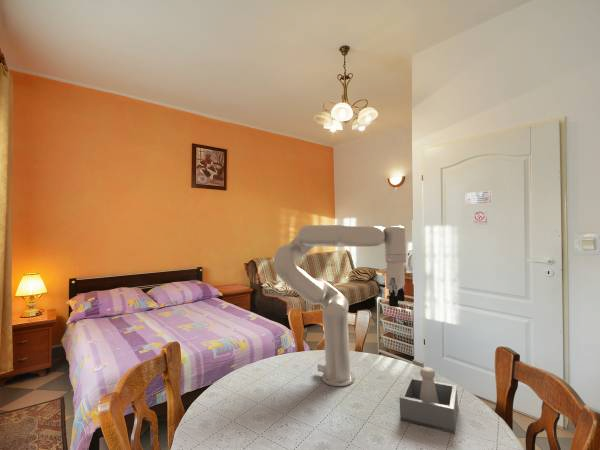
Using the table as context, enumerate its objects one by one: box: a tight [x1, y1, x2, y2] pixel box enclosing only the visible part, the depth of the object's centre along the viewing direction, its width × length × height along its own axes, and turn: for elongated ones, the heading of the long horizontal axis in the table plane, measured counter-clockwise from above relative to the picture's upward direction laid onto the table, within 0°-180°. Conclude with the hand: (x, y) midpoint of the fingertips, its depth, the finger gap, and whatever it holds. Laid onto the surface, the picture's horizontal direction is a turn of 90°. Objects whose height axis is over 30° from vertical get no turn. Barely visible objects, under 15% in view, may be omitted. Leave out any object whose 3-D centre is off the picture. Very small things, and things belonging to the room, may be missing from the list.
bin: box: [399, 376, 459, 435], centre depth 102 cm, size 15×15×7 cm
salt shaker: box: [419, 366, 439, 404], centre depth 102 cm, size 6×6×13 cm
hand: (397, 303), depth 123 cm, fingers open, 9 cm apart
